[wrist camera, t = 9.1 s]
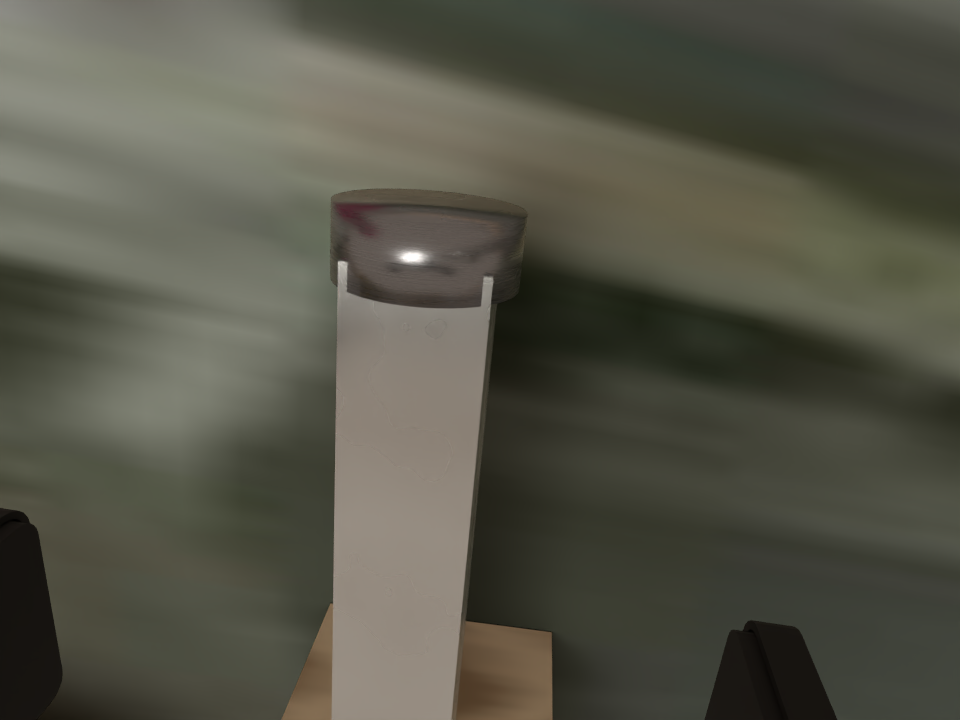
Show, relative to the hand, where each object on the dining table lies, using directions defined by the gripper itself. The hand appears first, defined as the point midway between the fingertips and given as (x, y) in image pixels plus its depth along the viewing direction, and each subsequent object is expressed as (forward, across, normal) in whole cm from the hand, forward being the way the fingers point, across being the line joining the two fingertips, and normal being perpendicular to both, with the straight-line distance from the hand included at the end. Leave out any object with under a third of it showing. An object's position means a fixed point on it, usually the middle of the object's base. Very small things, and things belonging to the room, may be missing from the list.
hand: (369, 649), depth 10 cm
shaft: (+9, +1, +8) cm, 12 cm away
